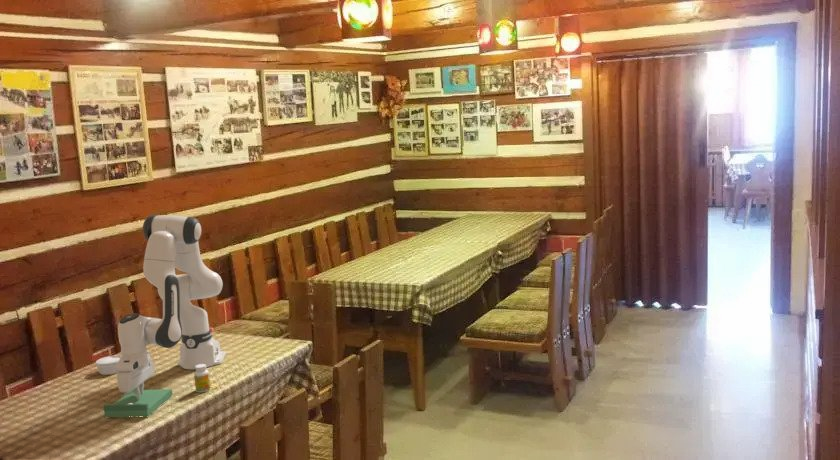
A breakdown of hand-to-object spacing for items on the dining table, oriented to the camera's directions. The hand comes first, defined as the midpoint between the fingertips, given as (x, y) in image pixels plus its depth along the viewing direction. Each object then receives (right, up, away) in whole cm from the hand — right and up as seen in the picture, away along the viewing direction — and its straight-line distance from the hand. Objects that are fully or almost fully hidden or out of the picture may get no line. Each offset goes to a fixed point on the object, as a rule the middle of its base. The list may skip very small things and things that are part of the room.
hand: (139, 395), depth 277 cm
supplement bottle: (+20, -1, +13) cm, 23 cm away
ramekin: (-27, +1, +42) cm, 50 cm away
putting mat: (0, -4, 0) cm, 4 cm away
